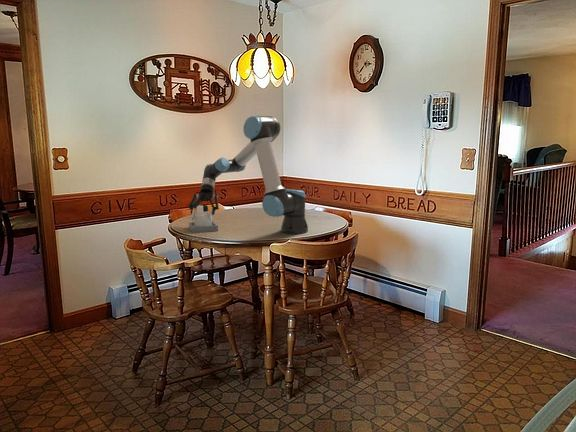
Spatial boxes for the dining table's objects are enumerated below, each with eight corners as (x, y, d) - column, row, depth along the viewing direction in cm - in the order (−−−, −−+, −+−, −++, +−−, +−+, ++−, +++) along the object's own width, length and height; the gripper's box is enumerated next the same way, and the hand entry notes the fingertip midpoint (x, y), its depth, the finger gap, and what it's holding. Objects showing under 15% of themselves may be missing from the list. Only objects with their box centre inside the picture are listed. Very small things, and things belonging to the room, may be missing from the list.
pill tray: (218, 230, 252) (217, 225, 251) (192, 232, 247) (192, 227, 246) (213, 225, 265) (213, 220, 264) (189, 227, 260) (188, 222, 259)
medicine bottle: (204, 224, 260) (203, 203, 258) (212, 225, 256) (211, 205, 254) (194, 226, 255) (193, 205, 253) (202, 228, 250) (201, 206, 248)
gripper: (227, 191, 266) (222, 222, 254) (190, 191, 268) (183, 222, 256) (225, 183, 260) (219, 215, 247) (187, 183, 262) (180, 215, 249)
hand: (201, 219), depth 251 cm, fingers closed on medicine bottle, 10 cm apart
